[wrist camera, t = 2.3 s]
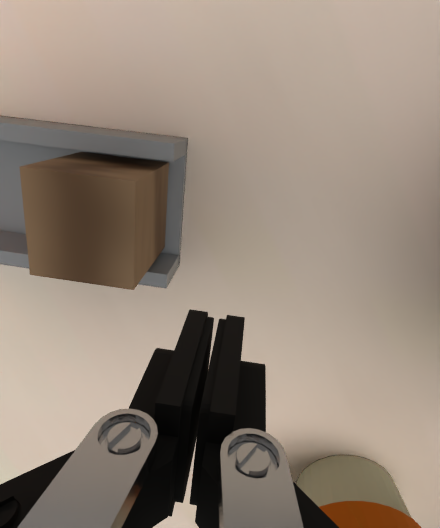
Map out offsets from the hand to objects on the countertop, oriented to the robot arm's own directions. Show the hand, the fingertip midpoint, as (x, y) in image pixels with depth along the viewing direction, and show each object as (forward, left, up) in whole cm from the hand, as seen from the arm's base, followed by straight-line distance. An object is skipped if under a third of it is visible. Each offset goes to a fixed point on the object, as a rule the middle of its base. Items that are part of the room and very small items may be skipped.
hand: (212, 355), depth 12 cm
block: (+8, 0, -16) cm, 18 cm away
